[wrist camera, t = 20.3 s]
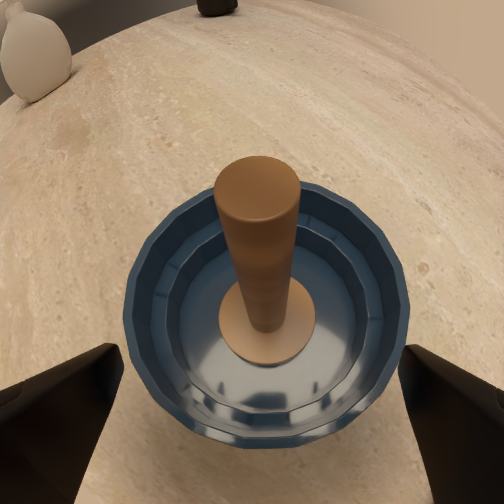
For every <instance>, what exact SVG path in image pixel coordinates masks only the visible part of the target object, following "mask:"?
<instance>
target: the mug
mask: <svg viewBox="0 0 504 504" xmlns="http://www.w3.org/2000/svg"><path fill="white" fill-rule="evenodd" d="M197 6H198V10H199V12H200V13H201V14H203V15H207V16H219V15H224V14H227V13H229V12H231V11H233V10H234V9H235V8H237V6H238V2H237V0H197Z"/></svg>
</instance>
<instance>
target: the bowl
mask: <svg viewBox="0 0 504 504" xmlns="http://www.w3.org/2000/svg"><path fill="white" fill-rule="evenodd" d="M300 186H301V193H300V203H299V212H298V221H297V230H296V238H295V246H294V255H293V263H292V270H291V277H292V278H294V279H295V280H297V281H298V282H299V283H300V284H301V285H303V287H304V288H305V289H306V290H307V291H308V293H309V294H310V296H311V298H312V300H313V303H314V306H315V312H316V322H315V328H314V331H313V334H312V337H311V338H310V340H309V342H308V344H307V345H306V346H305V348H304V349H303V350H302V351H301V352H300V353H299V354H298V355H297V356H296V357H295V358H293V359H292V360H290V361H288V362H286V363H283V364H280V365H277V366H257V365H254V364H251V363H248V362H246V361H244V360H242V359H241V358H239V357H238V356H237V355H236V354H235V353H234V352H233V351H232V350H231V349H230V348H229V347H228V345H227V344H226V342H225V341H224V339H223V337H222V334H221V332H220V328H219V320H218V316H219V309H220V305H221V302H222V300H223V298H224V296H225V294H226V293H227V291H228V290H229V289H230V288H231V286H232V285H234V284H235V283H236V282H237V281H238V280H237V277H236V273H235V270H234V266H233V263H232V259H231V256H230V252H229V249H228V245H227V242H226V238H225V235H224V231H223V228H222V224H221V221H220V217H219V214H218V210H217V206H216V203H215V199H214V192H213V190H214V187H213V188H210V189H207V190H204V191H202V192H201V193H199V194H198V195H196V196H194V197H193V198H191V199H190V200H188V201H186V202H185V203H183V204H182V205H180V206H178V207H177V208H175V209H174V210H172V211H171V212H170V213H169V214H168V216H167V217H166V218H165V219H164V220H163V221H162V222H161V223H160V224H159V225H158V226H157V228H156V229H155V230H154V231H153V232H152V233H151V234H150V235H149V237H148V238H147V239H146V241H145V242H144V244H143V246H142V248H141V250H140V252H139V254H138V256H137V258H136V261H135V263H134V265H133V267H132V269H131V271H130V273H129V277H128V280H127V287H126V294H125V301H124V309H123V324H124V329H125V335H126V340H127V345H128V350H129V355H130V359H131V362H132V364H133V366H134V367H135V369H136V371H137V373H138V374H139V376H140V378H141V379H142V381H143V383H144V384H145V386H146V388H147V389H148V391H149V393H150V394H151V396H152V398H153V399H154V400H155V402H157V403H158V404H159V405H160V406H161V407H162V408H164V409H165V410H166V411H167V412H168V413H169V414H171V415H172V416H173V417H174V418H176V419H177V420H178V421H179V422H181V423H182V424H183V425H184V426H186V427H187V428H188V429H189V430H191V431H193V432H194V433H197V434H199V435H202V436H205V437H207V438H210V439H213V440H216V441H219V442H222V443H225V444H228V445H231V446H234V447H237V448H243V449H278V448H294V447H298V446H301V445H304V444H307V443H309V442H312V441H314V440H317V439H320V438H322V437H325V436H327V435H329V434H332V433H334V432H336V431H339V430H341V429H343V428H344V427H346V426H347V425H348V424H350V423H351V422H352V421H353V420H354V419H355V418H357V417H358V416H359V415H360V414H361V413H362V412H363V411H364V410H365V409H367V408H368V407H369V406H370V405H371V404H372V403H373V402H374V401H375V400H376V399H377V398H378V397H379V396H380V395H381V393H383V391H384V389H385V388H386V386H387V384H388V382H389V380H390V378H391V377H392V375H393V373H394V371H395V369H396V367H397V365H398V363H399V361H400V357H401V354H402V350H403V348H404V346H405V344H406V337H407V330H408V323H409V315H410V302H409V297H408V292H407V287H406V282H405V277H404V272H403V268H402V266H401V265H402V264H401V263H400V261H399V259H398V257H397V255H396V253H395V252H394V250H393V248H392V246H391V245H390V243H389V241H388V239H387V238H386V236H385V234H384V233H383V231H382V230H381V229H380V228H379V227H378V226H377V225H376V224H375V223H374V222H373V221H372V220H371V219H370V218H369V217H368V216H367V215H366V214H365V213H363V212H362V211H361V210H360V209H359V208H358V207H357V206H356V205H355V204H354V203H352V202H351V201H349V200H347V199H345V198H343V197H341V196H339V195H337V194H335V193H333V192H331V191H329V190H327V189H325V188H323V187H321V186H319V185H317V184H312V183H308V182H303V181H300Z"/></svg>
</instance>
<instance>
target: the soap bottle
mask: <svg viewBox="0 0 504 504" xmlns="http://www.w3.org/2000/svg"><path fill="white" fill-rule="evenodd" d="M5 1H7V2H8V5H9V8H7V9H6V12H5V16H6V18H7V20H8V26H7V28H6V31H5V34H4V37H3V41H2V46H1V52H0V62H1V68H2V71H3V74H4V77H5V79H6V82H7V83H8V85H9V86H10V88H11V90H12V91H13V92H14V93H15V94H16V95H17V96H18V97H19V98H21V99H23V100H26V101H28V102H35V101H37V100H39V99H41V98H42V97H44V96H45V95H47V94H48V93H50V92H51V91H53V90H54V89H56V88H57V87H58V86H60V85H61V84H63V83H64V82H65V81H66V80H67V79H68V78H69V76H70V73H71V66H72V58H71V50H70V47H69V45H68V42H67V40H66V38H65V36H64V34H63V33H62V31H61V30H60V28H59V27H58V26H57V25H56V24H55V23H54V22H53V21H52V20H49V19H47V18H45V17H43V16H40V15H37V14H32V13H28V12H26V11H25V10H24V8H23V5H22V3H21V2H20V3H19V2H17V3H15V4H14V1H13V0H0V4H1V3H3V2H5Z"/></svg>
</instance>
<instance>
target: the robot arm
mask: <svg viewBox="0 0 504 504" xmlns="http://www.w3.org/2000/svg"><path fill="white" fill-rule="evenodd" d="M123 372H124V363H123V360H122V356H121V353H120V350H119V347H118V345H116V344H112V343H104V344H102V345H100V346H98V347H96V348H93V349H91V350H89V351H87V352H85V353H83V354H81V355H79V356H76V357H74V358H72V359H70V360H68V361H66V362H63V363H61V364H59V365H57V366H55V367H53V368H51V369H48V370H46V371H44V372H42V373H40V374H37V375H35V376H33V377H31V378H29V379H26V380H25V381H22V382H20V383H17V384H15V385H13V386H11V387H8V388H6V389H4V390H1V391H0V504H74V502H75V499H76V496H77V494H78V491H79V488H80V485H81V483H82V480H83V477H84V475H85V472H86V469H87V467H88V464H89V462H90V459H91V457H92V454H93V452H94V449H95V447H96V444H97V442H98V439H99V437H100V435H101V432H102V430H103V427H104V425H105V423H106V420H107V418H108V416H109V413H110V411H111V409H112V406H113V403H114V400H115V397H116V394H117V390H118V387H119V384H120V381H121V378H122V375H123ZM398 376H399V380H400V384H401V388H402V392H403V396H404V401H405V405H406V409H407V413H408V416H409V419H410V422H411V425H412V428H413V431H414V434H415V437H416V440H417V443H418V446H419V450H420V453H421V456H422V460H423V463H424V466H425V470H426V473H427V477H428V481H429V484H430V488H431V492H432V496H433V500H434V504H504V391H502V390H501V389H499V388H496V387H495V386H493V385H491V384H489V383H488V382H486V381H484V380H482V379H480V378H478V377H476V376H475V375H473V374H471V373H469V372H467V371H465V370H463V369H462V368H460V367H458V366H456V365H454V364H452V363H450V362H449V361H447V360H445V359H443V358H441V357H439V356H437V355H436V354H434V353H432V352H430V351H428V350H426V349H425V348H423V347H421V346H419V345H417V344H412V345H406V346H404V348H403V350H402V354H401V357H400V361H399V364H398Z"/></svg>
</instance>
